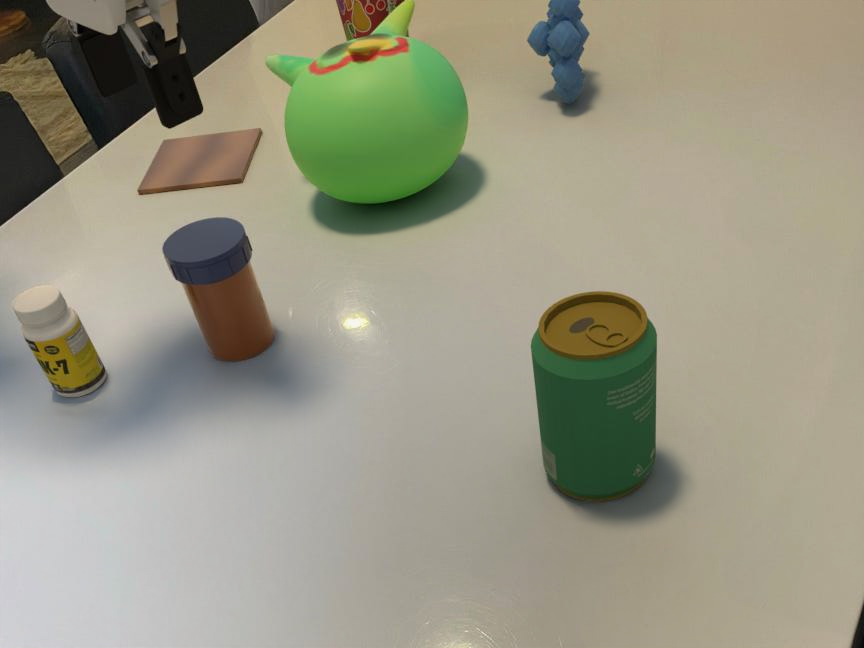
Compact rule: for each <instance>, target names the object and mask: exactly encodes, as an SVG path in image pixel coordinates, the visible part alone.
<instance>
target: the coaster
mask: <svg viewBox="0 0 864 648" xmlns="http://www.w3.org/2000/svg"><path fill="white" fill-rule="evenodd" d="M262 133H263V131H262V128H261V127H256V128H248V129H241V130H240V129H239V130H233V131H225V132H217V133H207V134H201V135H200V134H199V135H191V136H185V137H184V136H183V137H175V138H168V139H163V140H162V142H161V144H160V146H159V147H158V150H157V152H156V154H155V155H154V158H153V159H152V161H151V163H150V165H149V167H148V169H147V171H146V173H145V174H144V176H143V179H142V180H141V182H140V184H139V186H138V188H137V194H138V195H145V194H155V193H165V192H172V191H180V190H181V191H182V190H190V189H198V188H206V187H207V188H208V187H216V186H223V185H231V184H232V185H233V184H240V183H243V182H244V180H245V177H246V175H247V172H248V169H249V166H250V164H251V162H252V161H251V160H252V159H253V156H254V154H255V151H256V148H257V145H258V143H259V141H260V138H261V136H262Z"/></svg>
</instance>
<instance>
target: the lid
mask: <svg viewBox="0 0 864 648" xmlns="http://www.w3.org/2000/svg"><path fill="white" fill-rule="evenodd" d="M161 249H162V254H163V258H164V261H165V263H166V264H167V267H168V270H169V271H170V273H171V275H172V277H173V279H175V281H177V282H179V283H180V284H181V283H184V284H189V285H204V284H210V283H215V282H218V281H221V280H224V279H226V278H229V277H231V276H233V275H234V274H236V273H238V272H239V271H240V270H242V269H243V268H244V267H245V266H246V265H247V264H248V263H249V261H250V262H251V260H252V256H253V251H254V250H253V247H252V245H251V242H250V238H249V236H248V235H247V232H246V230H245V226H244V224H243V223H241V222H240V221H238V220H236V219H234V218H232V217H231V218H230V217H224V216H223V217H221V216H220V217H218V216H217V217H208V218H203V219H199V220H196V221H193V222H190V223H187V224H186V225H184V226H181V227H180V228H178V229H176V230H175V231H174V232H172V233H171V234H169V236H168V237H167V238H166V239H165V241H164V243H163V244H162V248H161Z"/></svg>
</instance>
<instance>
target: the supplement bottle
mask: <svg viewBox="0 0 864 648" xmlns="http://www.w3.org/2000/svg"><path fill="white" fill-rule="evenodd" d="M66 301H67V300H66V299H65V297H64V295H63V294H62V292H61V291H60V289H59V288H58V287H57V286H55V285H51V284H42V285H37V286H33V287H30V288H28V289H26V290H25V291H22V292H20V293H19V294H18V295H17V296H16V297H15V298H14V299H13V300H12V303H11V307H12V310H13V313H14V314H15V315H16V318H17V320H18V321H19V322H20V324H21V326H20V331H21V335H22V336H23V338H24V340H25V342H26V344H27V346H28V347H29V349H30V350H31V352H32V354H33V356H34V357H35V359H36V362H38V364H39V366H40V368H41V370H42V372H43V373H44V374H45V376H46V378H47V380H48V382H49V383H50V385H51V386H52V388H53V390H54V391H55V393H57V394H58V395H59V396H62V397H65V398H78V397H83V396H85V395H86V396H87V395H89V394H91V393H93V392H94V391H95V390H97V389H99V388H100V387H101V385H102V384H103V383H104V382H105V380H106V379H107V369H106V367H105V365H104V363H103V361H102V359H101V357H100V355H99V353H98V352H97V349H96V347H95V345H94V344H93V341H92V339H91V338H90V336H89V334H88V332H87V330H86V328H85V326H84V324H83V322H82V320H81V318H80V317H79V314H78V313H77V311H75V309H74V308H73V307H71V306H69V305H68V303H67V302H66Z"/></svg>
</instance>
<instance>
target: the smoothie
mask: <svg viewBox="0 0 864 648" xmlns="http://www.w3.org/2000/svg"><path fill="white" fill-rule="evenodd" d="M404 1H406V0H335V2H336V6H337V10H338V13H339V17H340V20H341V24H342V28H343V32H344V35H345V38H346V39H345V40H346V42H347V41H350V40H353V39H357V38H361V37H366V36H368V35H370V34H371V33H372V32H373V31H374V30H375V29H376V28H377V27H378V26H379V25H380V24H381V23H382V22H383V20H384V19H385V18H386V17H387V16H388V15H389V14H390V13H391V12H392V11H393V10H394V9H395V8H396V7H397V6H399V5H400V4H401V3H402V2H404ZM406 37H410V33H409V29H408V30H407V33H406Z"/></svg>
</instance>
